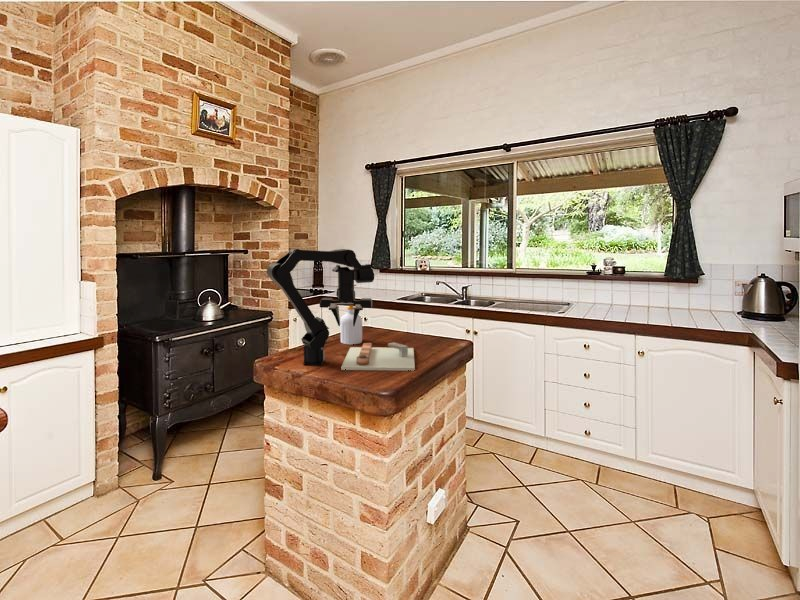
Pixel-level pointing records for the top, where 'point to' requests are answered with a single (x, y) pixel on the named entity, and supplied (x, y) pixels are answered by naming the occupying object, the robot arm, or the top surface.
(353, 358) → the base board
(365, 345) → the link
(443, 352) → the top surface
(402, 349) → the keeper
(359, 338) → the soap bottle
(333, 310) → the robot arm
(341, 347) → the top surface
